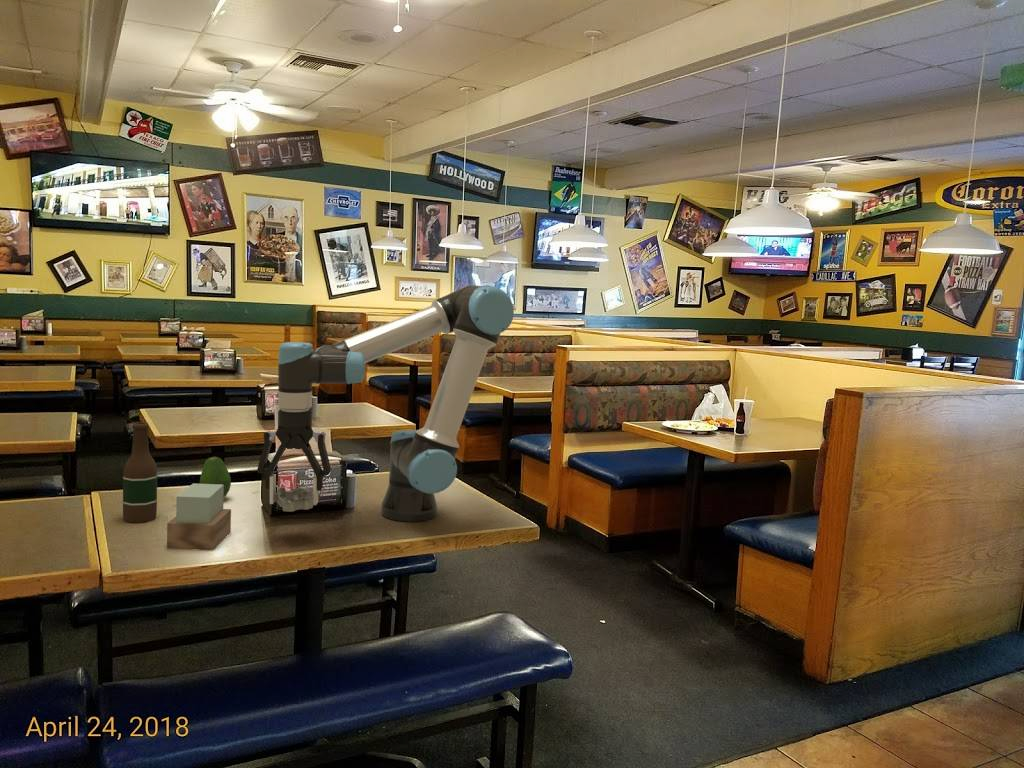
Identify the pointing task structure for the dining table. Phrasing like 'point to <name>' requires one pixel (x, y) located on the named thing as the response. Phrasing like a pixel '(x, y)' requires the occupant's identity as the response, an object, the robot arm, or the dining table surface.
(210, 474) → the fruit
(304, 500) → the egg carton
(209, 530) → the tower base block
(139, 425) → the beer bottle
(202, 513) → the tower top block
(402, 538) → the dining table surface
